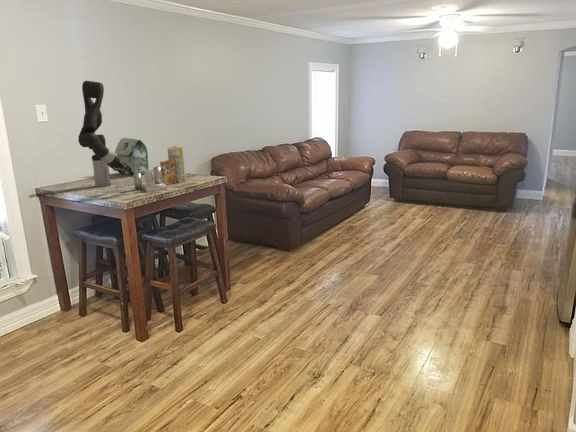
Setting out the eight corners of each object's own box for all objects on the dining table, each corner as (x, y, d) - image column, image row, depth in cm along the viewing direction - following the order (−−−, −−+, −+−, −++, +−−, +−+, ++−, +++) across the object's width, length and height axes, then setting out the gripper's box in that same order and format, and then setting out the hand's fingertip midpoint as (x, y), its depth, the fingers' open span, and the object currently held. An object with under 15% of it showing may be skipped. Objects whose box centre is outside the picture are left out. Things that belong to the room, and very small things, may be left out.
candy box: (166, 185, 291) (164, 161, 287) (162, 184, 293) (159, 161, 289) (176, 182, 298) (174, 159, 294) (172, 182, 300) (170, 159, 296)
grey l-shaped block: (147, 192, 271) (144, 173, 268) (142, 188, 284) (140, 170, 281) (167, 189, 276) (165, 171, 273) (161, 185, 289) (160, 168, 286)
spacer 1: (135, 190, 277) (133, 174, 274) (134, 189, 280) (132, 173, 278) (143, 189, 278) (141, 173, 276) (141, 188, 282) (139, 172, 280)
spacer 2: (155, 184, 277) (153, 168, 274) (154, 183, 281) (152, 167, 278) (162, 183, 279) (161, 167, 276) (161, 182, 282) (159, 166, 280)
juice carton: (187, 180, 304) (184, 145, 298) (180, 182, 297) (176, 146, 291) (176, 179, 308) (173, 144, 302) (169, 182, 301) (165, 146, 295)
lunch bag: (115, 174, 340) (111, 138, 333) (135, 171, 352) (131, 136, 345) (132, 177, 325) (127, 139, 318) (152, 173, 337) (148, 137, 330)
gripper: (120, 153, 257) (139, 170, 269) (105, 152, 265) (124, 168, 277) (113, 164, 254) (133, 180, 266) (98, 162, 262) (117, 178, 274)
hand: (128, 174), depth 272 cm, fingers open, 8 cm apart
